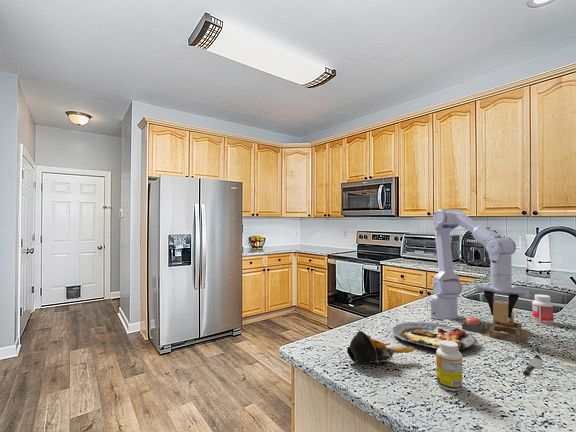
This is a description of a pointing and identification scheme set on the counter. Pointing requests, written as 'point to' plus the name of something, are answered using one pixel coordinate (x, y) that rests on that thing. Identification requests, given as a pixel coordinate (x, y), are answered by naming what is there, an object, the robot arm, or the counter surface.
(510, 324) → the block
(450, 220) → the robot arm
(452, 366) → the supplement bottle
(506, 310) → the block
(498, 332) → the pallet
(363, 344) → the fried shrimp in bowl
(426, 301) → the counter surface
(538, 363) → the kitchen knife
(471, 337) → the food plate
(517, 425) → the counter surface
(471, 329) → the button housing
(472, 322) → the button
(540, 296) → the pill bottle
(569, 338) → the counter surface
